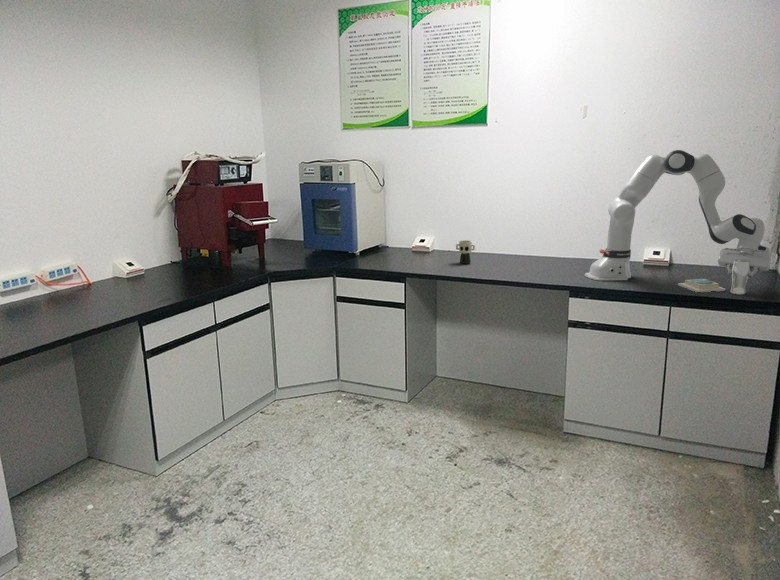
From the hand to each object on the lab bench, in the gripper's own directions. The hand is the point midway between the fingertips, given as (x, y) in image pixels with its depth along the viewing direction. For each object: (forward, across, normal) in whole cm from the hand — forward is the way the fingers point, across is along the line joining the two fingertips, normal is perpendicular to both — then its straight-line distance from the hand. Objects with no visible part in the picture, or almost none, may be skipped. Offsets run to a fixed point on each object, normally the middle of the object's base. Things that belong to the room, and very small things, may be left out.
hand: (739, 275), depth 255 cm
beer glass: (+6, 0, +6) cm, 9 cm away
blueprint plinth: (+6, -15, +6) cm, 17 cm away
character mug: (+19, -135, -7) cm, 136 cm away
